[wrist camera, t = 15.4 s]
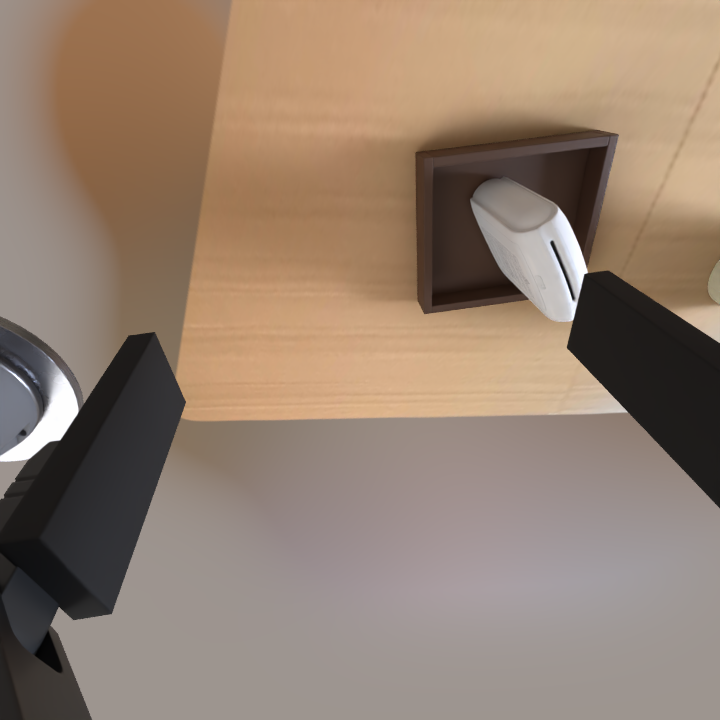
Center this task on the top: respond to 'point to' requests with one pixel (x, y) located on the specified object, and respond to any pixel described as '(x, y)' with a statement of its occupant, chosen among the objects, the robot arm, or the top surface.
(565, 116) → the top surface
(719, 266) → the reusable coffee cup
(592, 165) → the tray
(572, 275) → the photo printer
